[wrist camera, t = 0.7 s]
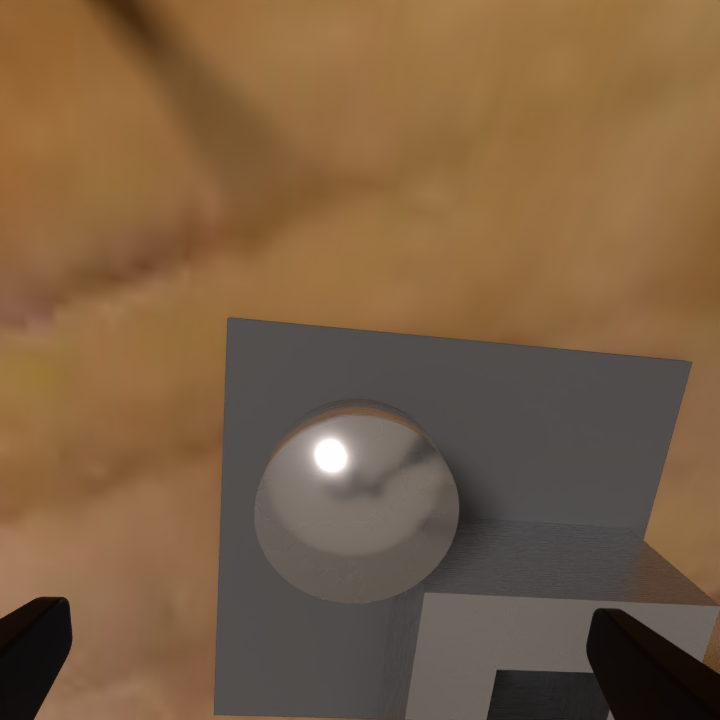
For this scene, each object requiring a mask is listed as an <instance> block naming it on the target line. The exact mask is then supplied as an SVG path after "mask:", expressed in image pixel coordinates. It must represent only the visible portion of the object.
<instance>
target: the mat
mask: <svg viewBox="0 0 720 720" xmlns="http://www.w3.org/2000/svg"><path fill="white" fill-rule="evenodd" d="M691 365H692V362H688V361H683V360H672V359H662V358H651V357H640V356H630V355H619V354H609V353H598V352H588V351H577V350H567V349H556V348H546V347H535V346H525V345H514V344H504V343H493V342H483V341H472V340H462V339H451V338H441V337H430V336H420V335H409V334H399V333H388V332H378V331H367V330H357V329H346V328H336V327H325V326H315V325H304V324H294V323H283V322H273V321H262V320H252V319H241V318H227V344H226V373H225V403H224V432H223V461H222V490H221V520H220V549H219V578H218V608H217V637H216V666H215V695H214V715H232V716H274V717H316V718H358V719H378V709H377V702H378V695H379V687H380V680H381V673H382V665H383V658H384V651H385V643H386V636H387V629H388V622H389V614H390V607H391V600H392V597H390V598H387V599H383V600H379V601H375V602H368V603H339V602H332V601H328V600H323V599H320V598H317V597H315V596H312V595H310V594H307V593H305V592H303V591H301V590H299V589H298V588H296V587H295V586H293V585H292V584H290V583H289V582H288V581H287V580H285V579H284V578H283V577H282V576H281V575H280V574H279V573H278V572H277V571H276V570H275V569H274V568H273V566H272V565H271V564H270V562H269V561H268V559H267V558H266V556H265V554H264V552H263V550H262V548H261V546H260V543H259V540H258V537H257V534H256V528H255V522H254V507H255V499H256V495H257V491H258V488H259V484H260V482H261V479H262V477H263V474H264V472H265V469H266V467H267V464H268V462H269V459H270V457H271V454H272V452H273V450H274V447H275V445H276V444H277V442H278V441H279V439H280V437H281V436H282V435H283V433H284V432H285V431H286V430H287V429H288V427H289V426H290V425H292V424H293V423H294V422H295V421H296V420H297V419H298V418H300V417H301V416H303V415H304V414H305V413H307V412H309V411H311V410H313V409H314V408H316V407H319V406H321V405H324V404H327V403H330V402H334V401H338V400H344V399H369V400H376V401H380V402H383V403H387V404H389V405H392V406H394V407H396V408H399V409H400V410H402V411H404V412H405V413H407V414H409V415H410V416H411V417H413V418H414V419H415V420H416V421H418V423H419V424H420V425H421V426H422V427H423V428H424V429H425V430H426V431H427V433H428V434H429V436H430V437H431V438H432V440H433V442H434V443H435V445H436V447H437V449H438V450H439V452H440V454H441V455H442V457H443V459H444V461H445V462H446V464H447V466H448V468H449V470H450V472H451V474H452V476H453V478H454V481H455V484H456V487H457V493H458V498H459V517H464V518H480V519H496V520H512V521H528V522H544V523H561V524H577V525H593V526H609V527H625V528H629V529H631V530H632V531H633V532H634V533H635V534H636V535H638V536H639V537H640V538H641V539H642V540H643V539H644V535H645V532H646V528H647V525H648V521H649V517H650V514H651V510H652V507H653V503H654V499H655V496H656V492H657V488H658V485H659V481H660V478H661V474H662V470H663V467H664V463H665V459H666V456H667V452H668V449H669V445H670V441H671V438H672V434H673V430H674V427H675V423H676V420H677V416H678V412H679V409H680V405H681V401H682V398H683V394H684V391H685V387H686V383H687V380H688V376H689V373H690V369H691Z"/></svg>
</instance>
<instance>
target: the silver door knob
mask: <svg viewBox="0 0 720 720" xmlns="http://www.w3.org/2000/svg"><path fill="white" fill-rule="evenodd" d="M458 517H459V498H458V493H457V487H456V484H455V481H454V478H453V476H452V474H451V472H450V470H449V468H448V466H447V464H446V462H445V461H444V459H443V457H442V455H441V454H440V452H439V450H438V449H437V447H436V445H435V443H434V442H433V440H432V438H431V437H430V436H429V434H428V433H427V431H426V430H425V429H424V428H423V427H422V426H421V425H420V424H419V423H418V421H416V420H415V419H414V418H413V417H411V416H410V415H409V414H407V413H405V412H404V411H402V410H400V409H399V408H396V407H394V406H392V405H389V404H387V403H383V402H380V401H376V400H369V399H344V400H338V401H334V402H330V403H327V404H324V405H321V406H319V407H316V408H314V409H313V410H311V411H309V412H307V413H305V414H304V415H303V416H301V417H300V418H298V419H297V420H296V421H295V422H294V423H293V424H292V425H290V426H289V427H288V429H287V430H286V431H285V432H284V433H283V435H282V436H281V437H280V439H279V441H278V442H277V444H276V445H275V447H274V450H273V452H272V454H271V457H270V459H269V462H268V464H267V467H266V469H265V472H264V474H263V477H262V479H261V482H260V484H259V488H258V491H257V495H256V499H255V507H254V522H255V528H256V534H257V537H258V540H259V543H260V546H261V548H262V550H263V552H264V554H265V556H266V558H267V559H268V561H269V562H270V564H271V565H272V566H273V568H274V569H275V570H276V571H277V572H278V573H279V574H280V575H281V576H282V577H283V578H284V579H285V580H287V581H288V582H289V583H290V584H292V585H293V586H295V587H296V588H298V589H299V590H301V591H303V592H305V593H307V594H310V595H312V596H315V597H317V598H320V599H323V600H328V601H332V602H339V603H368V602H375V601H379V600H383V599H387V598H390V597H392V596H395V595H398V594H400V593H402V592H404V591H406V590H408V589H410V588H411V587H413V586H415V585H416V584H418V583H419V582H420V581H422V580H423V579H424V578H425V577H427V576H428V575H429V574H430V573H431V572H432V571H433V570H434V569H435V568H436V567H437V566H438V564H439V563H440V562H441V560H442V559H443V558H444V556H445V555H446V553H447V551H448V549H449V547H450V546H451V543H452V541H453V538H454V536H455V533H456V528H457V524H458Z"/></svg>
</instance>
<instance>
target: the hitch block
mask: <svg viewBox="0 0 720 720" xmlns="http://www.w3.org/2000/svg"><path fill="white" fill-rule="evenodd" d="M598 608H617V609H621V610H623V611H625V612H626V613H628V614H629V615H631V616H632V617H634V618H635V619H637V620H638V621H640V622H641V623H643V624H644V625H646V626H647V627H649V628H650V629H652V630H653V631H655V632H656V633H658V634H659V635H661V636H663V637H664V638H666V639H667V640H669V641H670V642H672V643H673V644H675V645H676V646H678V647H679V648H681V649H682V650H684V651H685V652H687V653H688V654H690V655H691V656H693V657H694V658H696V659H697V660H699V661H700V662H702V661H703V658H704V655H705V652H706V649H707V646H708V643H709V640H710V637H711V634H712V631H713V628H714V625H715V622H716V619H717V616H718V613H719V610H720V605H718V604H717V603H716V602H715V601H714V600H713V599H711V598H710V597H709V596H708V595H707V594H706V593H704V592H703V591H702V590H701V589H700V588H699V587H697V586H696V585H695V584H694V583H693V582H691V581H690V580H689V579H688V578H687V577H686V576H684V575H683V574H682V573H681V572H680V571H679V570H677V569H676V568H675V567H674V566H673V565H672V564H670V563H669V562H668V561H667V560H666V559H665V558H663V557H662V556H661V555H660V554H659V553H657V552H656V551H655V550H654V549H653V548H652V547H650V546H649V545H648V544H647V543H646V542H645V541H643V540H642V539H641V538H640V537H639V536H638V535H636V534H635V533H634V532H633V531H632V530H631V529H629V528H625V527H609V526H593V525H577V524H561V523H544V522H528V521H512V520H496V519H480V518H464V517H458V524H457V528H456V533H455V536H454V538H453V541H452V543H451V546H450V547H449V549H448V551H447V553H446V555H445V556H444V558H443V559H442V560H441V562H440V563H439V564H438V566H437V567H436V568H435V569H434V570H433V571H432V572H431V573H430V574H429V575H428V576H427V577H425V578H424V579H423V580H422V581H420V582H419V583H418V584H416V585H415V586H413V587H411V588H410V589H408V590H406V591H404V592H402V593H400V594H398V595H395V596H392V600H391V607H390V614H389V622H388V629H387V636H386V643H385V651H384V658H383V665H382V673H381V680H380V687H379V695H378V702H377V709H378V720H614V718H613V716H612V713H611V711H610V709H609V707H608V704H607V702H606V700H605V698H604V695H603V693H602V691H601V689H600V686H599V684H598V682H597V680H596V677H595V675H594V673H593V670H592V668H591V666H590V664H589V661H588V658H587V653H586V642H587V638H588V633H589V629H590V624H591V620H592V615H593V612H594V611H595V610H596V609H598Z"/></svg>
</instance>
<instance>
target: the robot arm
mask: <svg viewBox="0 0 720 720" xmlns="http://www.w3.org/2000/svg"><path fill="white" fill-rule="evenodd" d="M71 645H72V626H71V616H70V605H69V601H68V600H67V599H66V598H64V597H39V598H36V599H34V600H32V601H30V602H29V603H27V604H25V605H23V606H22V607H20V608H18V609H17V610H15V611H13V612H11V613H10V614H8V615H6V616H5V617H3V618H1V619H0V720H34V718H35V716H36V715H37V713H38V711H39V709H40V707H41V705H42V703H43V701H44V700H45V698H46V696H47V694H48V692H49V690H50V688H51V686H52V685H53V683H54V681H55V679H56V677H57V675H58V673H59V671H60V669H61V668H62V666H63V664H64V662H65V660H66V658H67V656H68V654H69V651H70V649H71ZM586 653H587V658H588V661H589V664H590V666H591V668H592V670H593V673H594V675H595V677H596V680H597V682H598V684H599V686H600V689H601V691H602V693H603V695H604V698H605V700H606V702H607V704H608V707H609V709H610V711H611V713H612V716H613V718H614V720H720V674H718V673H717V672H715V671H714V670H712V669H711V668H709V667H708V666H706V665H705V664H703V663H702V662H700V661H699V660H697V659H696V658H694V657H693V656H691V655H690V654H688V653H687V652H685V651H684V650H682V649H681V648H679V647H678V646H676V645H675V644H673V643H672V642H670V641H669V640H667V639H666V638H664V637H663V636H661V635H659V634H658V633H656V632H655V631H653V630H652V629H650V628H649V627H647V626H646V625H644V624H643V623H641V622H640V621H638V620H637V619H635V618H634V617H632V616H631V615H629V614H628V613H626V612H625V611H623V610H621V609H617V608H598V609H596V610H595V611H594V612H593V615H592V620H591V624H590V629H589V633H588V638H587V642H586Z"/></svg>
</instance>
